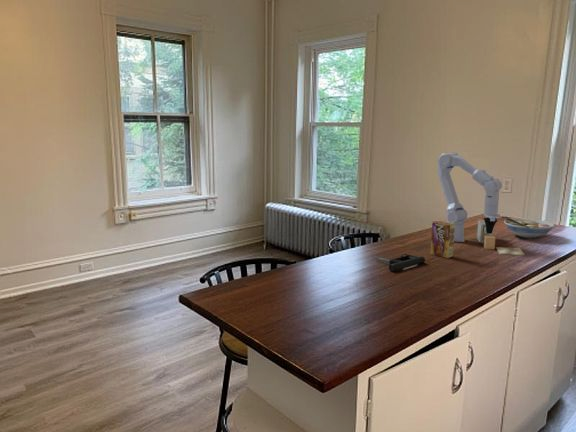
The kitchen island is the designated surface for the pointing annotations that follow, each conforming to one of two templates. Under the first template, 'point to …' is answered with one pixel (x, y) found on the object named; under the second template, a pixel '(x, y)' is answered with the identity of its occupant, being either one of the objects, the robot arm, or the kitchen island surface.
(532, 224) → the ramen bowl
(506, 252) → the pad
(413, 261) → the door handle
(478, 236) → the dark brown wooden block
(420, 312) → the kitchen island surface
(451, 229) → the candy box
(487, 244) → the tan rectangular block
